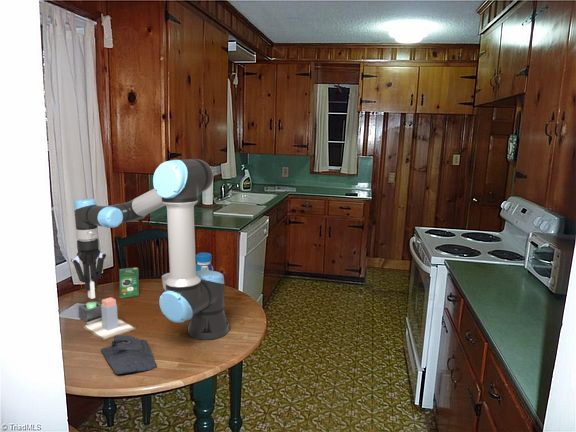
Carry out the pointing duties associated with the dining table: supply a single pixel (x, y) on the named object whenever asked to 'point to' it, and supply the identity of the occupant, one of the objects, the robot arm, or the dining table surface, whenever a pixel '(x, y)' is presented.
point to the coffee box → (128, 282)
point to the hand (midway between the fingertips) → (91, 297)
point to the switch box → (90, 312)
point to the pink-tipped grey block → (109, 314)
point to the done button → (91, 304)
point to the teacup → (165, 280)
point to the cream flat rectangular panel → (102, 333)
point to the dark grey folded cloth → (129, 355)
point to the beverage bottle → (204, 262)
